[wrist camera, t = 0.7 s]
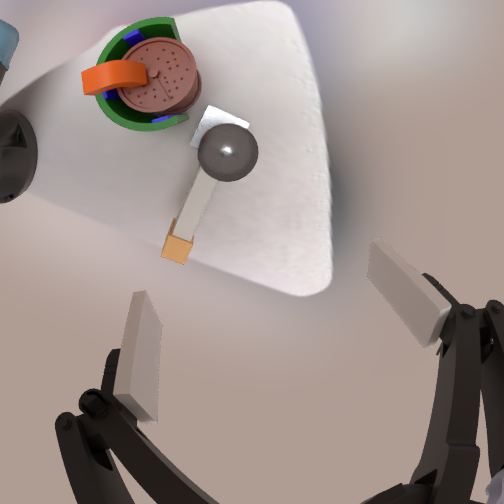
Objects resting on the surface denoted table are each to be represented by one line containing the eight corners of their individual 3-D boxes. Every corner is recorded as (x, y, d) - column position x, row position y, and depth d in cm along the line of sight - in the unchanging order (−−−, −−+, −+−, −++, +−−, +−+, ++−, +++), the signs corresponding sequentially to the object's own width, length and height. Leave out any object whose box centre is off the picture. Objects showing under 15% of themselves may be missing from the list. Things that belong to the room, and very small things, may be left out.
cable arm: (222, 165, 29) (225, 174, 25) (186, 244, 33) (184, 264, 29) (200, 155, 28) (199, 163, 24) (166, 237, 32) (160, 256, 28)
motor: (211, 110, 34) (215, 110, 16) (149, 134, 34) (94, 162, 16) (189, 45, 28) (171, -13, 11) (126, 71, 29) (55, 44, 11)
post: (189, 144, 35) (173, 173, 20) (208, 104, 33) (208, 99, 17) (229, 161, 37) (246, 203, 22) (248, 123, 35) (283, 134, 19)
